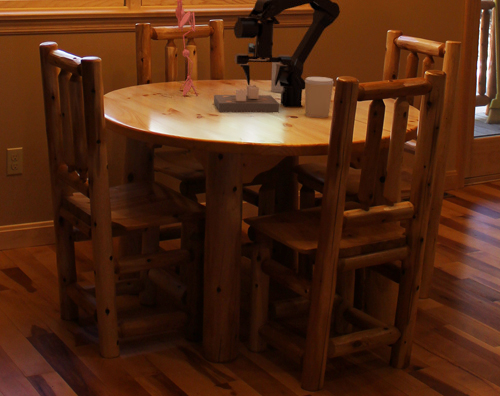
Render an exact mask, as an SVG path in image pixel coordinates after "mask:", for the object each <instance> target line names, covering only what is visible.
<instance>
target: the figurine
mask: <svg viewBox="0 0 500 396" xmlns="http://www.w3.org/2000/svg"><path fill="white" fill-rule="evenodd" d="M176 1H177V2H176V3H177V4H176V5H177V6H176V8H175V12H174V13H175V16H176V19H177V27H178V30H180V31H181V32H183V31H184V26H186V24H187V23H188V24H189V26H190V27H191V29H190V30H188V31H187V32H185V33H184V34H183V35H182V40H183V50H182V56H183V57H184V58H187V77H186V80H185V81H184V82H183V83H182V85H181V87H179V90H182V89H183V90H182V91H183V92H182V94H183V96H184V97H185V96H186V95H187V94H188V93H189V91H190V90H191V89H192V90H193V92H194V94H195V96H199V95H198V92H197V88H198V87H197V86H196V87H195V85H194V83H193V81H194V80H193V79H191V78H192V73H193V66H194V62H193V61H192V60H191V58H190V57H189V56H190V53H191V52H190V50H188V49H186V44H185V43H186V41H185V39H186V38H185V36H186V35H188V33H190V32H191V31H193V32H194V33H196V21H195V12H194V11H193V12H191V10H188V11H187V12H185V10H184V7H183V0H176ZM190 63H191V67H190ZM161 97H167V98H168V96H165V95H163V94H162V95H161ZM169 98H173V97H172V96H169Z"/></svg>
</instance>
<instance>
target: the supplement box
mask: <svg viewBox="0 0 500 396" xmlns="http://www.w3.org/2000/svg"><path fill="white" fill-rule="evenodd" d="M276 64H278V62H271V81H270V82H271V84H270V92H272V93H280V94H281V91H283V86H280V82H279V81H278V83H277V85H276V86H275V75H276Z"/></svg>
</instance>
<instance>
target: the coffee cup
mask: <svg viewBox="0 0 500 396" xmlns="http://www.w3.org/2000/svg"><path fill="white" fill-rule="evenodd" d="M304 81H305V89H304V112H305V114H304V115H305V116H307V117H310V118H319V119H320V118H321V119H322V118H328V117H329V114H330V109H331V100H332V96H333V88H334V83H335V82H334V79H333V78H330V77H323V76H308V77H306V78H305V79H304Z"/></svg>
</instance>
